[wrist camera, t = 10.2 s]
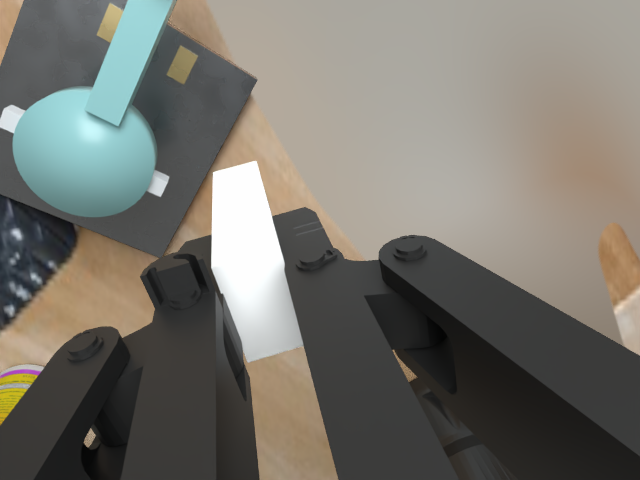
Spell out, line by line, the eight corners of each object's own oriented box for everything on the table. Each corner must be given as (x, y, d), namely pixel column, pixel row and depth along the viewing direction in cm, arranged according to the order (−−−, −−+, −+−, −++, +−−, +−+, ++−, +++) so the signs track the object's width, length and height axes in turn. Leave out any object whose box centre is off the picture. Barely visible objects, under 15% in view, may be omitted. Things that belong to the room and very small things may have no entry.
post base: (256, 77, 37) (264, 91, 31) (162, 250, 43) (154, 291, 37) (49, -50, 31) (9, -64, 25) (-31, 172, 36) (-81, 205, 30)
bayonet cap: (144, 226, 34) (134, 257, 30) (-7, 165, 30) (-42, 191, 26) (261, -14, 28) (269, -17, 24) (95, -127, 24) (71, -154, 20)
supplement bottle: (-14, 364, 44) (-92, 485, 33) (60, 357, 46) (10, 472, 34) (4, 414, 47) (-62, 540, 36) (73, 406, 49) (31, 526, 37)
